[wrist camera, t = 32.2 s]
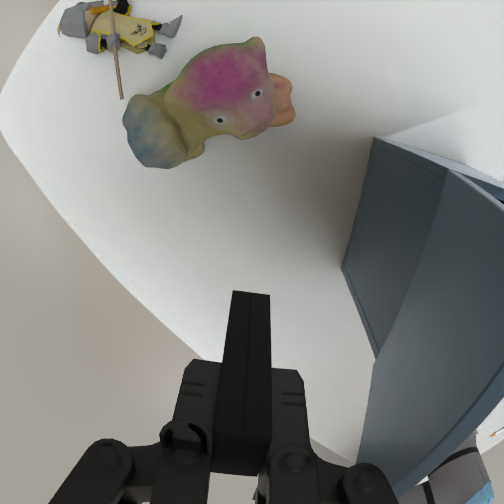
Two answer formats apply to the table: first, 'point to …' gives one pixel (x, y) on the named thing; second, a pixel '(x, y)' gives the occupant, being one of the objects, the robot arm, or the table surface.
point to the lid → (441, 343)
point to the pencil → (497, 432)
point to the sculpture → (208, 105)
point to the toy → (114, 29)
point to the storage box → (396, 228)
